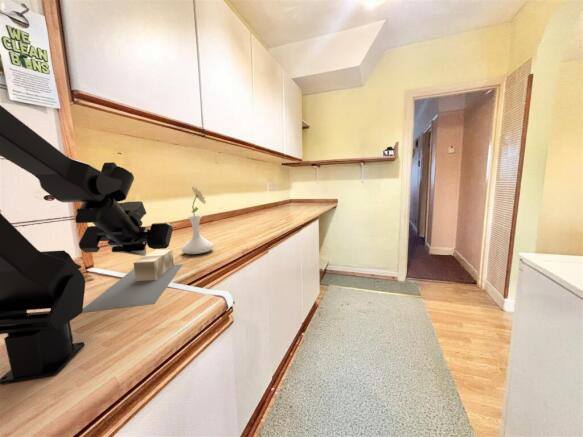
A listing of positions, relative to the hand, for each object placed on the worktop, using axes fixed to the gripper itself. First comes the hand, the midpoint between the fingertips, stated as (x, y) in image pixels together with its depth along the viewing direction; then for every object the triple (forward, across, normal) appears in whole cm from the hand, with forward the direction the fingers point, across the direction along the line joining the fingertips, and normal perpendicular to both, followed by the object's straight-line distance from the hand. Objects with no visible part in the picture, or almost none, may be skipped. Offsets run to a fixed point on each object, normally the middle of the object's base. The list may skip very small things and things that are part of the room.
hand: (144, 254), depth 63 cm
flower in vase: (+25, -5, -14) cm, 29 cm away
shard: (+6, +18, +6) cm, 20 cm away
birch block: (+3, 0, +4) cm, 5 cm away
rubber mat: (+4, 0, +7) cm, 8 cm away
